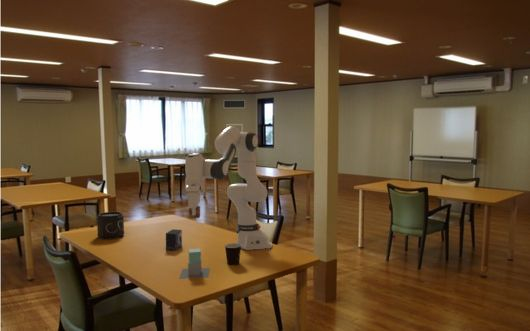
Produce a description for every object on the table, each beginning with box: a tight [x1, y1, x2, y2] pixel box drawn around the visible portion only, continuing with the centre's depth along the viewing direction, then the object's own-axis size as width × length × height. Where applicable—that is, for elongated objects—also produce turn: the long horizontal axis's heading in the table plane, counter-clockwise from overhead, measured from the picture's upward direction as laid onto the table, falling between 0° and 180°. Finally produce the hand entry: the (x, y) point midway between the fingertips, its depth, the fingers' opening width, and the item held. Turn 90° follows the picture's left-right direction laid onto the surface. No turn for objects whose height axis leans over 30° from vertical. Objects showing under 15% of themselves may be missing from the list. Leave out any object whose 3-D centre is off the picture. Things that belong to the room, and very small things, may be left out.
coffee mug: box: [224, 242, 242, 266], centre depth 216 cm, size 12×9×10 cm
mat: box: [178, 267, 211, 280], centre depth 200 cm, size 14×14×1 cm
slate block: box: [187, 261, 203, 275], centre depth 200 cm, size 6×6×6 cm
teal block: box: [188, 248, 202, 264], centre depth 200 cm, size 6×6×6 cm
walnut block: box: [188, 205, 201, 219], centre depth 198 cm, size 5×5×5 cm
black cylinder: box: [96, 211, 125, 240], centre depth 274 cm, size 18×18×16 cm
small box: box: [165, 229, 183, 251], centre depth 245 cm, size 11×6×10 cm, turn 168°
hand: (194, 213), depth 198 cm, fingers closed on walnut block, 5 cm apart
